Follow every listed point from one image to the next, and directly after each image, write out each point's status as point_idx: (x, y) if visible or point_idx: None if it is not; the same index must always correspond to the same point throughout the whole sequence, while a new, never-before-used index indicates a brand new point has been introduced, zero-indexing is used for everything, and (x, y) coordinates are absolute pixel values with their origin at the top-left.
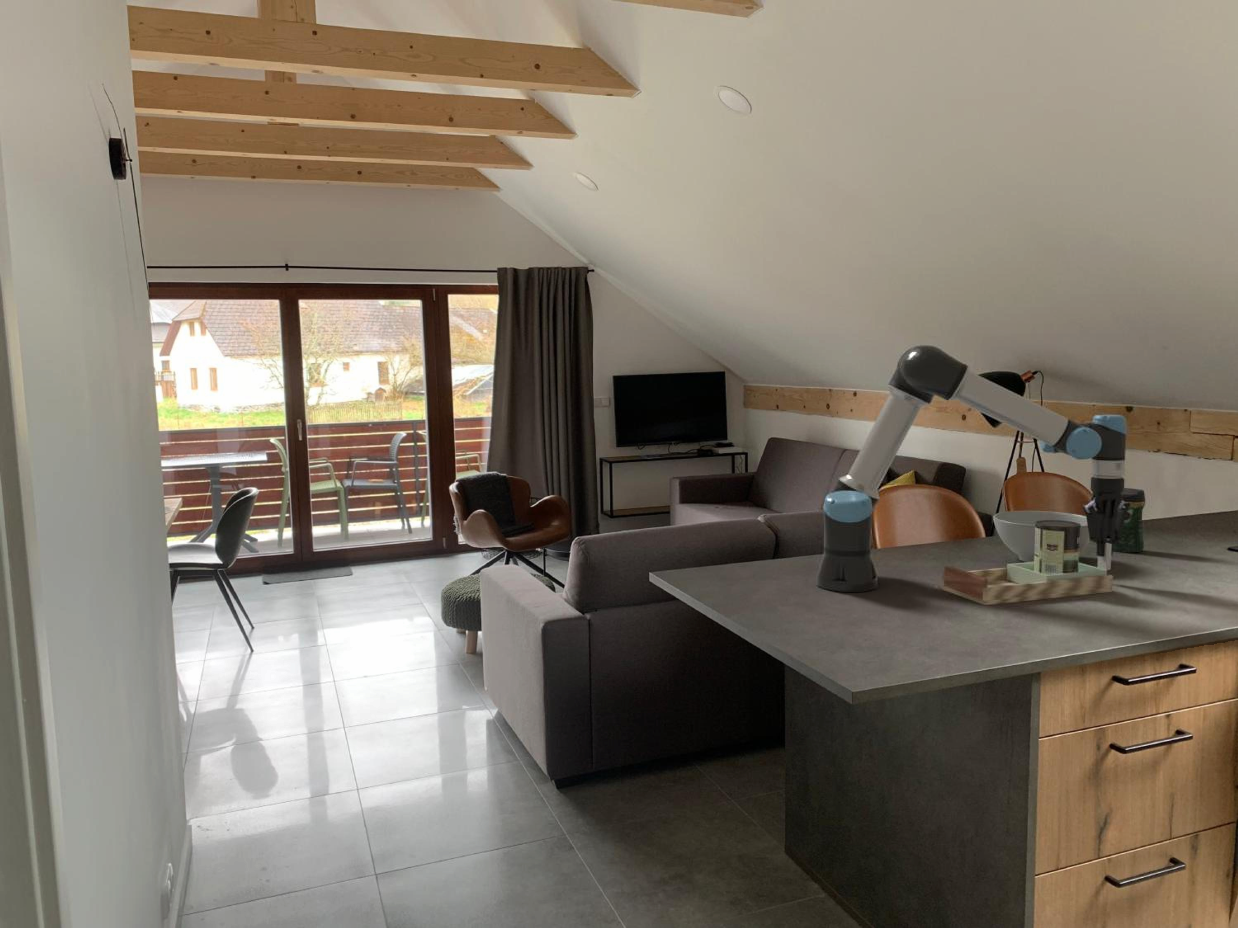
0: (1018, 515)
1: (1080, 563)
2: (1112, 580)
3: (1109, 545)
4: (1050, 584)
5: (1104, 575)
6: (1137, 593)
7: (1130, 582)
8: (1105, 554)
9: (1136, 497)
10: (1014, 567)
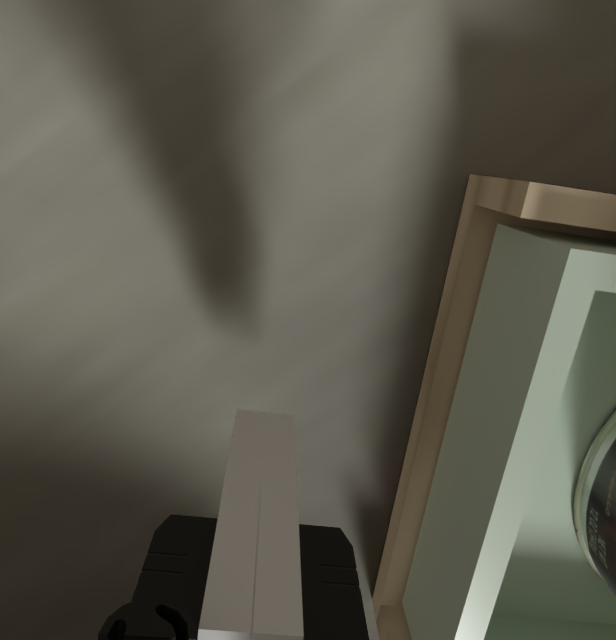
0: None
1: (492, 559)
2: (509, 179)
3: (246, 614)
4: None
5: (570, 241)
6: (341, 24)
7: (59, 313)
8: (296, 528)
9: None
10: None
